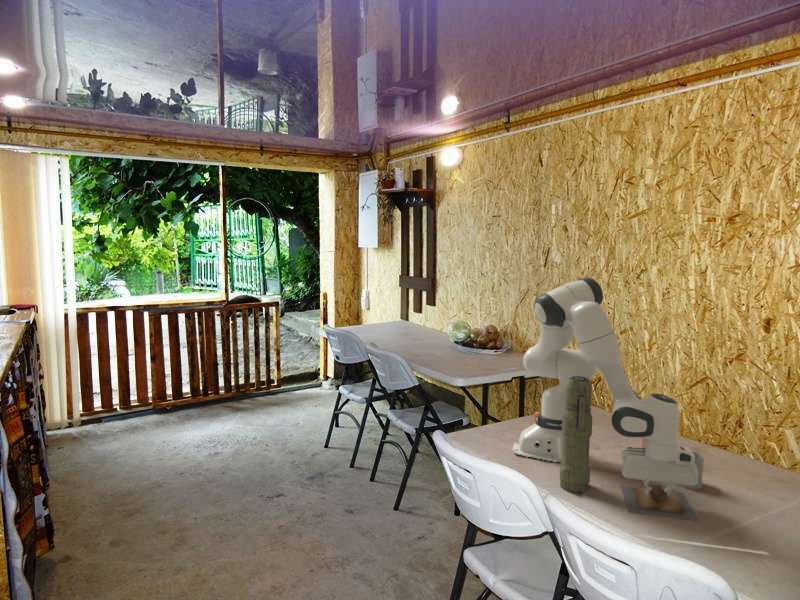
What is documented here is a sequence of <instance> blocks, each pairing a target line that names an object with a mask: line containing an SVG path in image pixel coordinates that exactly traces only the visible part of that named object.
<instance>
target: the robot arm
mask: <svg viewBox="0 0 800 600" xmlns="http://www.w3.org/2000/svg"><path fill="white" fill-rule="evenodd" d="M603 300H604V293H603V289H602V287H601V284H599V282H598V281H596V280H595V279H593V278H592V277H583V278H579V279H577V280H574V281H570V282H567V283H565V284H561V285H560V286H558V287H556V288H553V289H551V290H550V291H547V292H543V293H542V294H540V295H538V296H537V297H536V298H535V300H534V304H533V309H534V313H535V316H536V317H537V320H538V321H539V332H540V333H539V340H538V341H537V343H536V344H535V345H533V346H530V347H529V348H528V349H527V350H526V351H525V353H524V354H523V358H522V362H523V368H524V370H525V371H526V372H527V373H528V374H530V375H533V376H538V377H542V378H551V379H558V380H559V384H558V385H555V386H553V387H550V388H548V389H546V390H544V392H543V393H542V395H541V413H540V412H538V411H535V413H534V417H535V419H534V421H535V423H533V424H532V425H530V426H528V427H526V428H525V429H524V430H522V431H521V433H520V435H519V438H518V441H519V444H517V443H515V442H514V443H513V444H514V445H512V451H513V450H514V452H516V453H517V454H520V455H525V456H529V457H534V458H539V459H543V460H542V461H544V460H547V461H546V462H550V461H553V462H552V463H556V462H559V463H561V462H562V455H563V432H562V420H563V413H564V410H565V405H566V402H565V398H566V385H567V382H568V380H569V378H571V377H573V376H580V377H585V378H587V379H589V381H590V380H591V379H593V378H594V377H595V375H596V374H597V371H600V372H601V374H602V375H603V377H604V379H605V382H606V383H607V387H608V388H609V391H610V393H611V395H612V402H613V403H612V413H611V414H612V415H611V424H612V427H613V429H614V430H615V431H616V432H617V433H618V434H619V435H621V436H623V437H627V438H643V437H644V448H642V447H632V446H627V447H626V448H625V447H624V448H623V449H622V451H621V460H622V464H621V474H622V476H623V477H624V478H625V479H628V480H629V479H630V480H635V481H636V480H637V481H639V480H640V481H642V482H643V484H644V486H645V488H646V493H647V495H653V489H652V488H650V487H651V486H649V485H650V482H654V483H665V484H667V486H666V488H663V489H664V491H665V497H669V492H670V491H672V490H673V489H674V488H675V485H676V484H681V485H689V486H695V485H696V484H697V483H698V470H697V466H696V464H695V463H694V462H695V456H694V454H693V452H694V451H692V450H691V448H689V447H687V446H683V445H680V444H679V440H678V432H679V429H680V409H679V408H680V407H679V405H678V402H677V401H676V400H675V399H673V398H672V397H670V396H668V395H665V394H661V393H650V394H649V395H647V396H646V397H642V398H641V397H640V395H638V394H637V393H636V392H635V391H634V389H633V388H632V385H631V383H630V380H629V378H628V375H627V374H626V370H625V368H624V367H623V363H622V355H621V350H620V349H621V348H620V343H619V340H618V337H617V335H616V332H615V329H614V327H613V325H612V322H611V321H610V319H609V318H608V315H607V314H606V311H604V309H603V307H602V306H601V304H602V303H603ZM574 336H575V339H576V342H577V344H578V347H579V349H570V348H566V347H567V346H569V345H570V344H571V343H572V342H573V339H574ZM515 450H517V451H515ZM514 452H513V453H514ZM539 459H538V460H539Z"/></svg>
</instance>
